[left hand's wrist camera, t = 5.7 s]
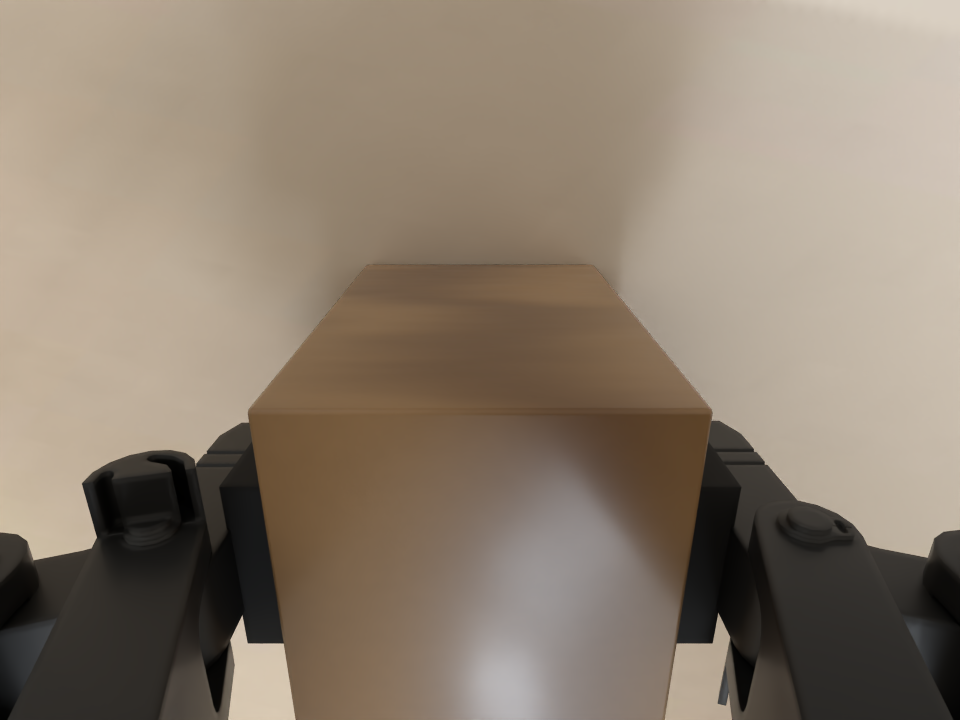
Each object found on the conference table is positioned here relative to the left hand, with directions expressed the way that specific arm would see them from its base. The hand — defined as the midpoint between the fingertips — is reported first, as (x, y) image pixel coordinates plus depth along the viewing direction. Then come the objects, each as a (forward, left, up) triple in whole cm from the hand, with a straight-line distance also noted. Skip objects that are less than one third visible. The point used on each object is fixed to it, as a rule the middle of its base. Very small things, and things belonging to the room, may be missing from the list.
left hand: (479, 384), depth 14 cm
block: (0, 0, -1) cm, 1 cm away
